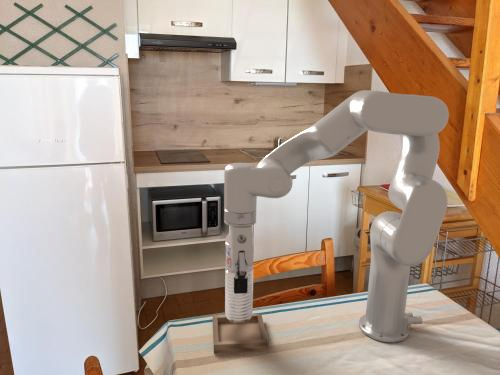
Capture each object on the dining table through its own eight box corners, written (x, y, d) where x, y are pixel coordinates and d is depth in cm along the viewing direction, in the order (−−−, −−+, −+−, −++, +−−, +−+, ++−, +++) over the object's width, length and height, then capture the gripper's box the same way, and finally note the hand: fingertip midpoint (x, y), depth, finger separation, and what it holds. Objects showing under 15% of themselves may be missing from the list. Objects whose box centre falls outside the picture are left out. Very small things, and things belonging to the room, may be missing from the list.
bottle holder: (261, 321, 116) (261, 313, 115) (268, 350, 103) (268, 342, 103) (212, 323, 114) (212, 315, 114) (213, 353, 102) (213, 344, 101)
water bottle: (249, 326, 103) (251, 227, 97) (221, 322, 105) (222, 225, 99) (254, 311, 110) (256, 218, 104) (228, 308, 111) (229, 216, 105)
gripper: (260, 228, 93) (258, 302, 97) (251, 205, 110) (250, 269, 114) (226, 228, 92) (225, 304, 96) (222, 205, 109) (222, 270, 113)
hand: (239, 284), depth 105 cm, fingers closed on water bottle, 6 cm apart
